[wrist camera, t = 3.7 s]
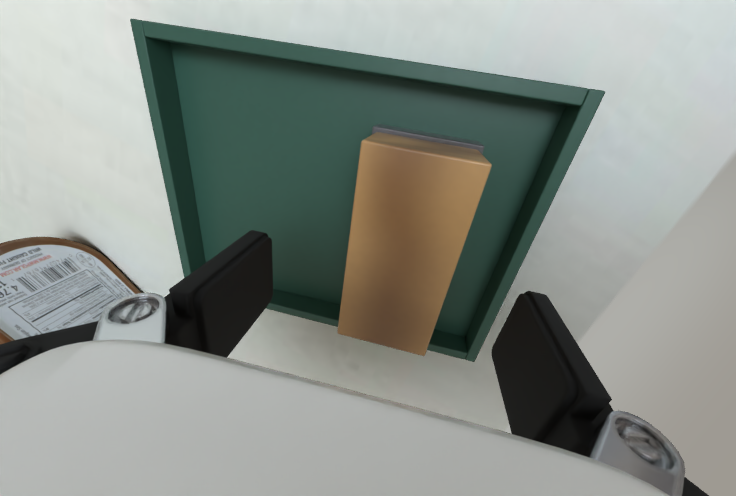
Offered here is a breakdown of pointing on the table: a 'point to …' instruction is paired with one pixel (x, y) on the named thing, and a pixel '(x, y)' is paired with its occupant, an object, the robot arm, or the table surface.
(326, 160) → the tray
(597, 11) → the table surface
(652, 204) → the table surface
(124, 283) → the tin
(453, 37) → the table surface
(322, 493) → the robot arm
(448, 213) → the eraser
